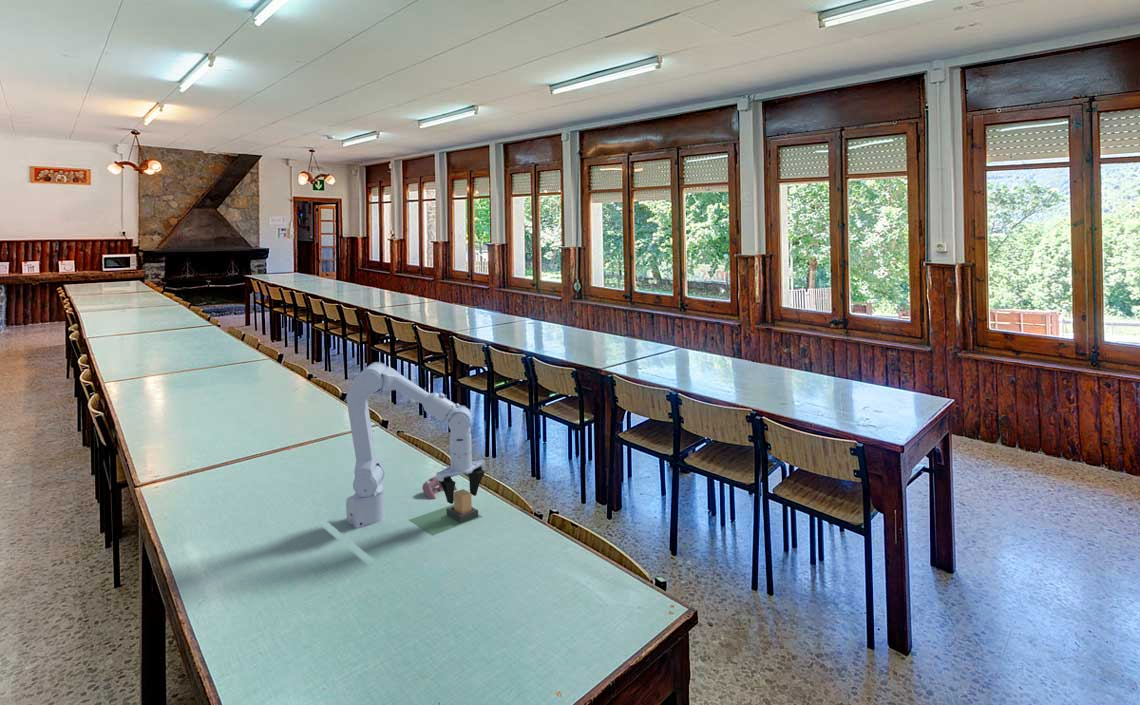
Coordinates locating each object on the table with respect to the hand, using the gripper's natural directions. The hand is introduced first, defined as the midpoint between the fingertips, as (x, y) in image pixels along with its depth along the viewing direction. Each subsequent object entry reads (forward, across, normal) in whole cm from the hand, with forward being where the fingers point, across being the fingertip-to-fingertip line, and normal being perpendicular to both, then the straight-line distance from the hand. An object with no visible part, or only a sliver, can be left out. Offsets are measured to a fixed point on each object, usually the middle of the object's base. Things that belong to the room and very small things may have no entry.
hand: (462, 498), depth 169 cm
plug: (+5, 0, 0) cm, 5 cm away
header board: (+6, -4, +2) cm, 8 cm away
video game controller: (+7, +4, +18) cm, 20 cm away
